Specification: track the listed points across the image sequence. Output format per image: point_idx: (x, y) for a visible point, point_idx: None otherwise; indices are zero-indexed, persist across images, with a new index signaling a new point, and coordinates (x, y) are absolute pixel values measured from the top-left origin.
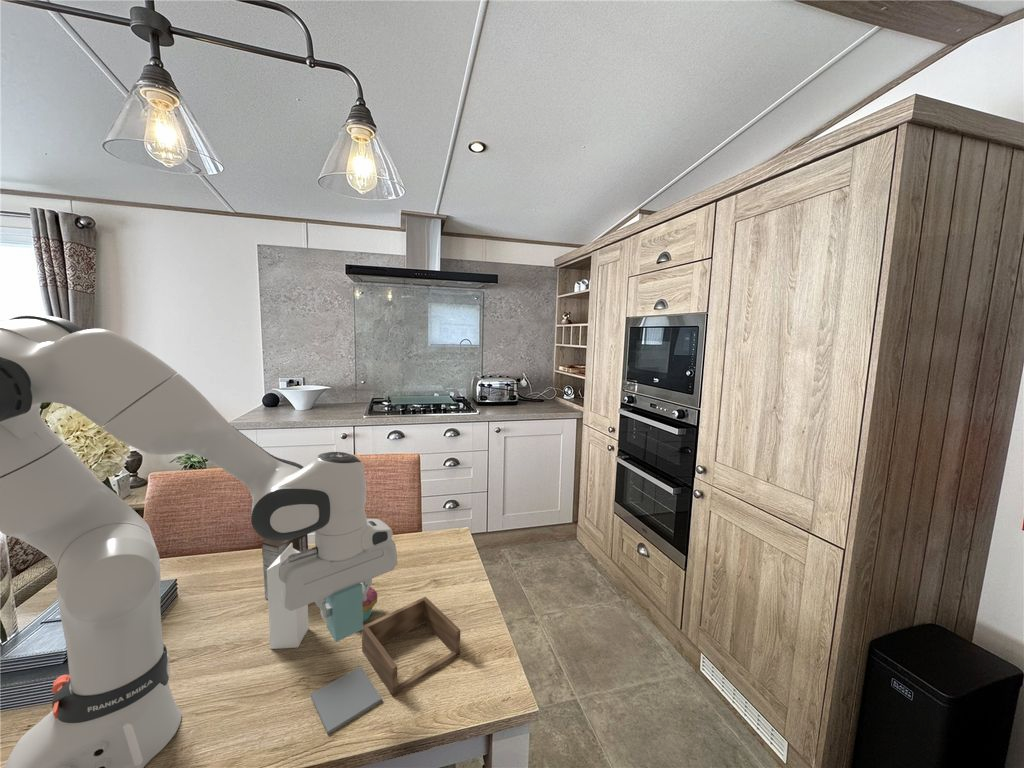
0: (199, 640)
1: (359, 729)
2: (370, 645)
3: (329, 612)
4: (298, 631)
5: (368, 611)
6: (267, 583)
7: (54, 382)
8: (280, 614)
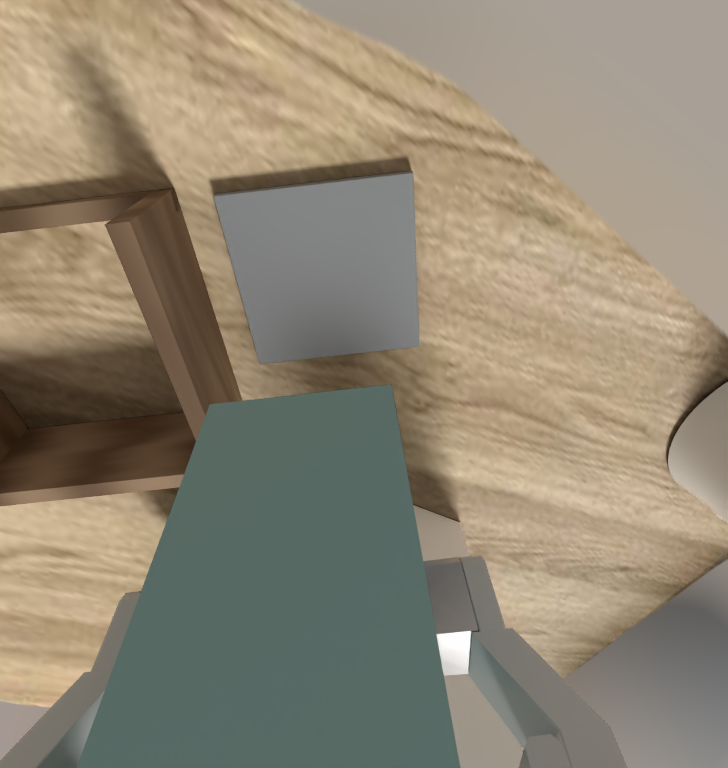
0: (569, 593)
1: (312, 120)
2: (214, 402)
3: (441, 594)
4: None
5: None
6: (519, 743)
7: None
8: None
